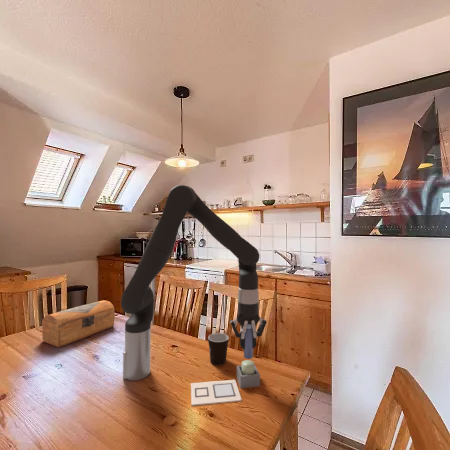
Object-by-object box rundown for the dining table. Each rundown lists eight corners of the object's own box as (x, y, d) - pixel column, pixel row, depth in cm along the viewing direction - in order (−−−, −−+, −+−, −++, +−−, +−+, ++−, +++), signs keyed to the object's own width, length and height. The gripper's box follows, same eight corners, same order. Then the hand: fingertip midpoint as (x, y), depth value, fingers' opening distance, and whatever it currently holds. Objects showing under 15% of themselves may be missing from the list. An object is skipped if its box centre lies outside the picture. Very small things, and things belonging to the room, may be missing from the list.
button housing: (240, 388, 88) (240, 376, 88) (236, 376, 95) (236, 365, 95) (259, 386, 89) (259, 375, 89) (254, 375, 96) (254, 364, 96)
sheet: (191, 405, 79) (191, 404, 79) (190, 384, 90) (190, 382, 90) (241, 401, 82) (241, 399, 82) (235, 380, 93) (235, 379, 93)
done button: (243, 380, 90) (243, 367, 90) (240, 372, 94) (240, 360, 94) (255, 379, 90) (255, 366, 90) (252, 371, 95) (252, 359, 95)
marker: (244, 359, 90) (244, 324, 91) (242, 355, 93) (242, 321, 94) (254, 358, 90) (253, 324, 91) (251, 354, 94) (251, 321, 95)
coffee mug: (226, 368, 101) (226, 342, 101) (205, 365, 102) (205, 340, 103) (231, 354, 112) (231, 331, 112) (212, 352, 114) (212, 329, 114)
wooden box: (59, 349, 116) (59, 318, 116) (41, 340, 124) (41, 312, 124) (116, 327, 142) (116, 302, 142) (98, 321, 150) (98, 297, 150)
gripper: (231, 304, 88) (230, 354, 88) (270, 302, 90) (270, 351, 90) (227, 298, 95) (227, 344, 95) (263, 296, 97) (263, 342, 97)
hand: (248, 347), depth 92 cm, fingers closed on marker, 3 cm apart
